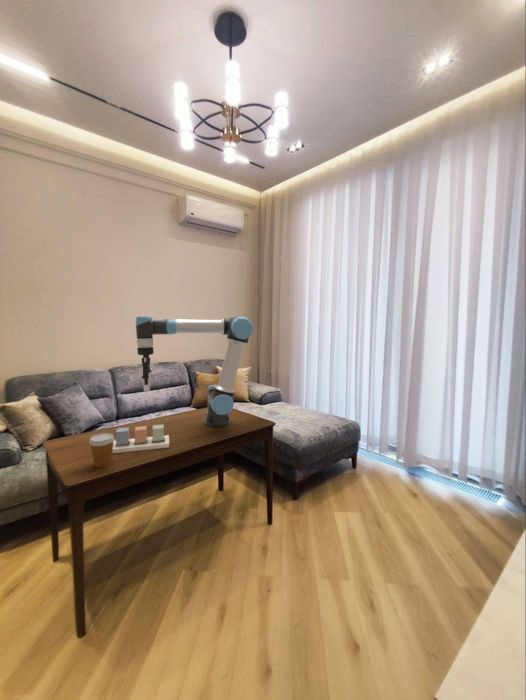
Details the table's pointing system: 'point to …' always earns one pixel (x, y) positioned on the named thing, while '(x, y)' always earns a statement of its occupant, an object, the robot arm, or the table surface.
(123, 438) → the slate block
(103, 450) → the disposable coffee cup
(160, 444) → the board
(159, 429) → the sage block
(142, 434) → the terracotta block
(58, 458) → the table surface
